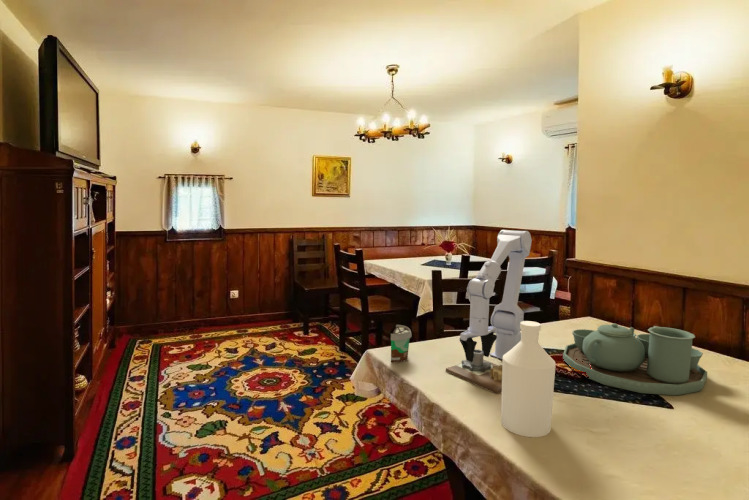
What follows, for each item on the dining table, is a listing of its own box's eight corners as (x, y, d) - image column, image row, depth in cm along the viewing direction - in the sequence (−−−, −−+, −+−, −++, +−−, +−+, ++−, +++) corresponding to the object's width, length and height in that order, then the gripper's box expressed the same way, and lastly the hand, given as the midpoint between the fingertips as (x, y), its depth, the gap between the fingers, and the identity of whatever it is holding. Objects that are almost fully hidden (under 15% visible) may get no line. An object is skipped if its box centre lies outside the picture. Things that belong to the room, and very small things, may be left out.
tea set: (712, 369, 143) (716, 320, 141) (694, 411, 114) (700, 350, 112) (583, 342, 170) (586, 300, 168) (543, 370, 140) (546, 320, 139)
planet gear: (475, 359, 146) (475, 344, 145) (497, 367, 139) (498, 352, 138) (455, 365, 141) (456, 350, 140) (477, 374, 133) (478, 358, 133)
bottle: (523, 442, 98) (529, 333, 95) (489, 418, 108) (493, 319, 106) (563, 431, 102) (569, 327, 100) (526, 409, 113) (531, 315, 110)
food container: (408, 365, 143) (409, 335, 142) (390, 363, 144) (390, 334, 143) (413, 352, 155) (413, 325, 154) (395, 351, 156) (396, 324, 155)
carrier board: (479, 361, 148) (480, 348, 147) (531, 380, 131) (532, 366, 131) (445, 371, 138) (446, 357, 138) (496, 394, 122) (497, 378, 122)
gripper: (484, 310, 145) (483, 350, 146) (453, 317, 137) (452, 359, 138) (501, 315, 139) (500, 356, 141) (470, 322, 131) (469, 366, 132)
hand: (477, 358), depth 139 cm, fingers open, 7 cm apart
